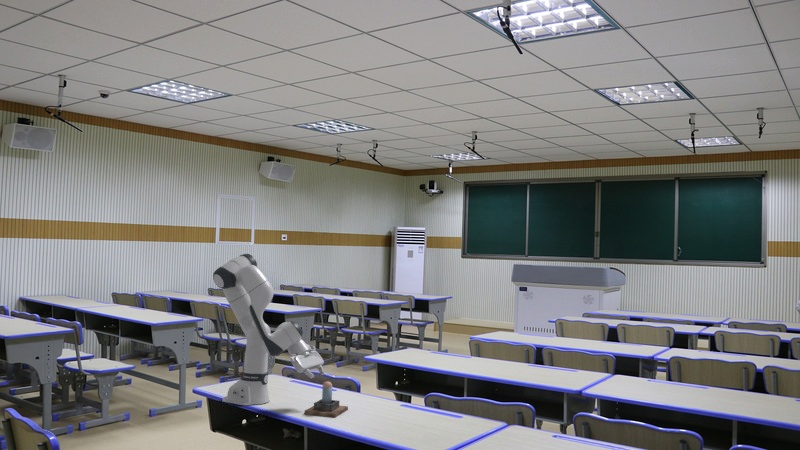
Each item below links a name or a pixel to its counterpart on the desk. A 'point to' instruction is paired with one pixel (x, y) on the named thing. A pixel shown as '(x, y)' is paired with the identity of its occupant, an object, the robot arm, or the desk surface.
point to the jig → (326, 409)
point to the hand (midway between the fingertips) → (318, 375)
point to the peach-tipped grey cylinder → (327, 393)
